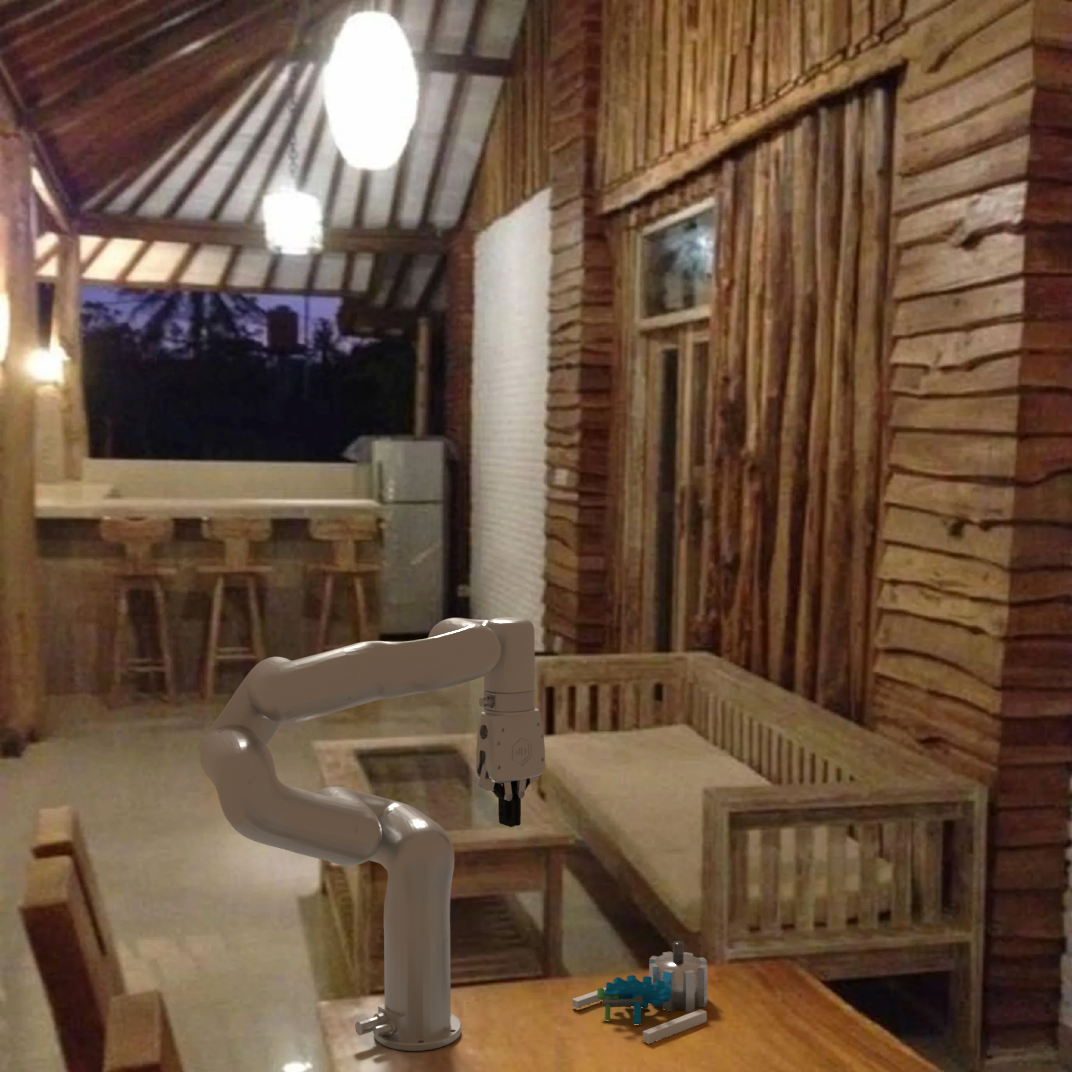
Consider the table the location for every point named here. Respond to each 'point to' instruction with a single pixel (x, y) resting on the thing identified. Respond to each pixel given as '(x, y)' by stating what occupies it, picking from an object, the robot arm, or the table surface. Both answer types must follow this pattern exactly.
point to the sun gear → (681, 978)
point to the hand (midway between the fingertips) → (509, 824)
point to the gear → (633, 994)
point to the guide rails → (657, 1031)
